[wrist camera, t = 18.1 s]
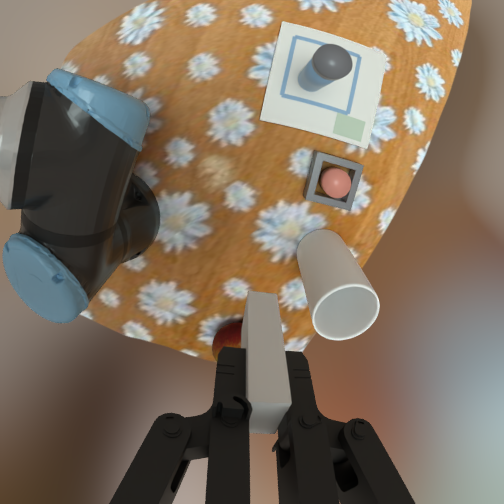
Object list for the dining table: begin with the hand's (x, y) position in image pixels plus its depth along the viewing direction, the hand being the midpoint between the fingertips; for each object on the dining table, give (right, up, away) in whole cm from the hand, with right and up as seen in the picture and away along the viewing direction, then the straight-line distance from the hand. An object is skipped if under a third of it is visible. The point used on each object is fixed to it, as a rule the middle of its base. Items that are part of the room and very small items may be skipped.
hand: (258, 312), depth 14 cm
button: (+11, +14, +23) cm, 29 cm away
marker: (+8, +27, +17) cm, 32 cm away
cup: (+11, +3, +29) cm, 31 cm away
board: (+10, +27, +17) cm, 34 cm away
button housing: (+11, +14, +24) cm, 30 cm away
